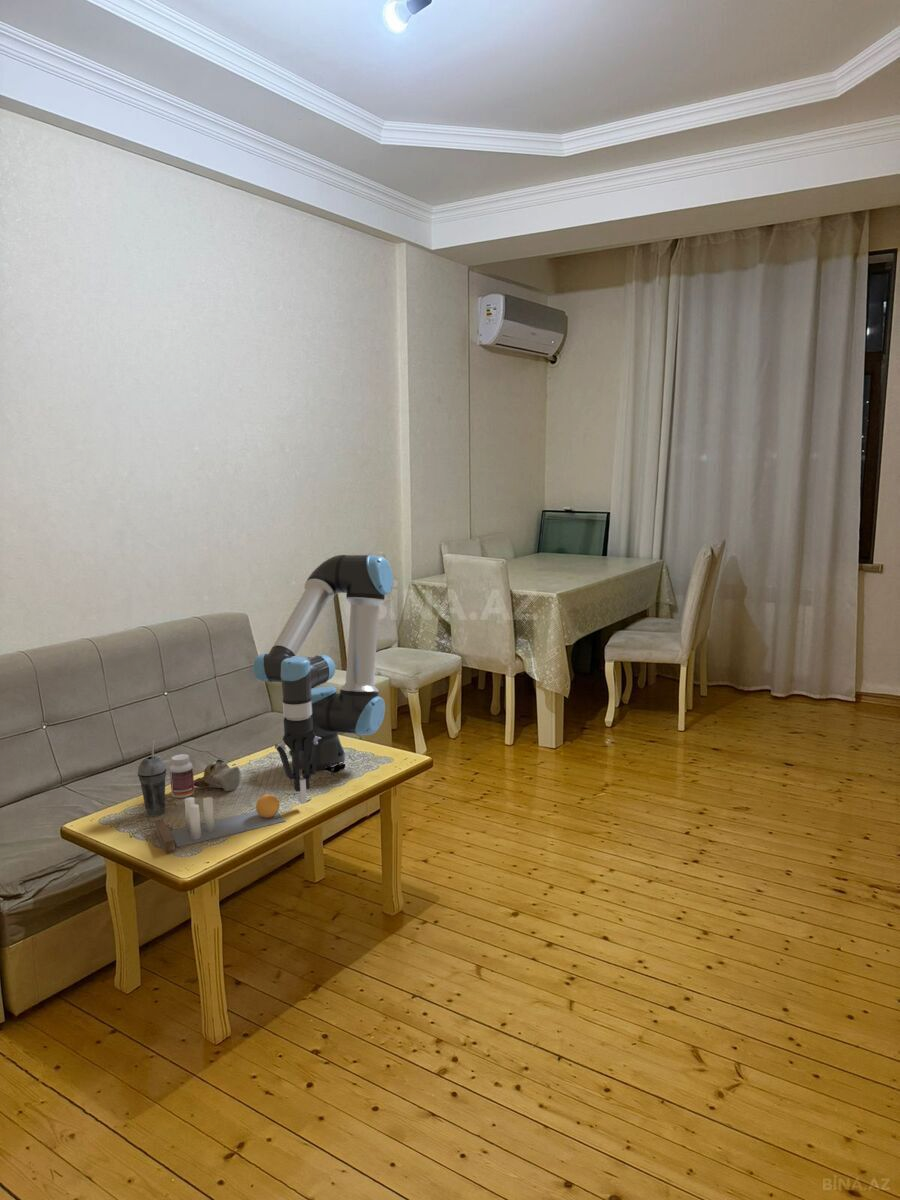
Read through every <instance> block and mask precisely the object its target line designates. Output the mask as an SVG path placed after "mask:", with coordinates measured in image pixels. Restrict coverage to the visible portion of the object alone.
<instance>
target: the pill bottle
mask: <svg viewBox="0 0 900 1200" xmlns="http://www.w3.org/2000/svg"><path fill="white" fill-rule="evenodd" d="M169 778H170V788H171V796H172V797H173V798H175V799H186V798H188V797H192V795H194V793H195V786H194V780H195V779H194V778H195V777H194V768H193V763H192V762H190V755H188V754H187V753H185V754H182V753H180V754H175V755H174V756H172V757H171V765H170V766H169Z"/></svg>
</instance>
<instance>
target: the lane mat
mask: <svg viewBox="0 0 900 1200" xmlns="http://www.w3.org/2000/svg"><path fill="white" fill-rule="evenodd" d="M214 820H215V819H214ZM285 822H286V820H285V818H284V817H283V816H282V815H281V814H280V813H279V811H278V812H277V814H276V815H275V816H273V817H271V818H263V817H261V816H260V815H259V814H258V813H257V811H256V810H255V811H251V812H246V813H243V814H238V815H234V816H233V815H232V816H229V817H225V818H220V819H217V820H215V831H213V832H206V831H205V822H203V823H200V826H201V838H200V839H198V840H192V839H191V832H187V826H185V827H182V828H177V829H172V830H169V831H170V833H171V835H172V837H173V839H174V844H175V845H176V847H177V848H180V847H185V846H190V845H194V844H197V843H202V842H205V841H206V842H207V841H210V840H215V839H218V838H221V837H226V836H230V835H235V834H239V833H244V832H247V831H252V830H256V829H259V828H264V827H269V826H272V825H276V824H281V823H285Z"/></svg>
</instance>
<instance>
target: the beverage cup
mask: <svg viewBox="0 0 900 1200" xmlns="http://www.w3.org/2000/svg"><path fill="white" fill-rule="evenodd" d="M154 743H155V740H154V739H151V755H150V756H148V757H145V758H144V759H143V760H142V761H141V762H140V763H139V765H138V768H137V776H138V780H139V782H140V786H141V791H142V793H141V794H142V797H143V803H144V807H145V808H144V809H145V812H146V816H148V817H157V816H161V815H163V814H165V813H166V812H165V809H166V808H165V807H166V778H167V777H166V776H167V768H166V764H165V762H164V761H163V760H162V758H160V757H157V756H154V755H155V751H154V749H155V748H154V745H155V744H154Z"/></svg>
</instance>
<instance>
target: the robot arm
mask: <svg viewBox="0 0 900 1200" xmlns="http://www.w3.org/2000/svg"><path fill="white" fill-rule="evenodd" d="M393 586H394V575H393V570H392V566H391V565H390V563H389V561H388V560H387V559H386V558H385V557H383V556H379V555H371V554H370V555H369V554H368V555H367V554H365V555H364V554H362V555H361V554H359V555H358V554H357V555H356V554H354V555H353V554H351V555H349V554H348V555H346V554H338V555H334V556H331V557H330V558H328V559H326V560H324V561H323V562H321V563H320V564H319V565H318V566H317V567H316V568H315V569H314V570H313V571H312V572H311V574H310V575H309V576H308V577H307V580H306V581H305V583H304V592H303V593H302V594H301V597H300V598H299V600H298V602H297V604H296V606H295V607H294V609H293V611H292V612H291V614H290V616H289V618H288V620H287V621H286V623H285V624H284V626H283V628H282V630H281V631H280V633H279V634H278V637H277V639H276V640H275V642H274V644H273V645H272V648H271V649H270V650H269V652H268V653H260V654H259V655H256V657H255V658H254V660H253V664H252V671H253V674H254V677H255V678H256V679H257V680H259V681H263V682H269V683H281V693H282V713H283V717H284V718H283V730H284V735H283V737H282V741H280V742H279V744H275V745H274V748H275V750H276V752H278V754H279V756H280V760H281V764H282V767H283V770H284V772H285V776H286V777H287V778H288V779H289V780H293V790H294V791H295V792H296V793H297V800H298V802H299V803H300V804H301V805H302V804H307V802H308V800H307V797H308V796H307V791H308V790H309V789H310V779H311V776H312V775H313V776H315V775H316V772H317V771H322V770H326V769H325V768H326V767H327V766H328V765H330V764H332V763H335V762H343V763H344V762H345V761H346V756H345V755H346V754H345V750H344V747H343V746H342V745H343V744H342V742H341V740H340V738H339V733H341V734H342V733H344V734H352V735H357V736H371V735H374V734H375V733H377V731H378V730H379V728H380V727H381V726H382V723H383V721H384V717H385V713H386V704H385V700H384V698H382V697H381V696H379V694H380V693H379V692H380V691H379V689H378V688H377V686H376V684H375V677H376V676H375V674H376V661H377V659H376V658H377V644H378V629H379V628H378V627H379V614H380V613H379V612H380V611H379V610H380V605H382V604H383V603H385V599H386V598H385V595H386V596H387V595H389V594H390V593H391V591H392V588H393ZM340 593H342V594H343V593H344V594H346V595H345V597H346V600H347V601H348V602H349V604H350V611H349V612H350V613H349V624H348V625H349V628H348V643H347V658H346V670H345V671H346V673H345V683H344V684H343V685H342V686H341V687H340V689H339V693H337V691H338V690H337V688H336V687H335V686H332V685H331V686H330V685H327V686H320V685H323V684H326V683H327V682H328V681H329V680H331V679H332V678H333V677H334V675H335V673H336V664H335V662H334V660H333V659H332V658H331V657H330V656H328V655H326V654H319V655H315V656H310V657H309V656H299V655H300V653H301V651H302V649H303V647H304V646H305V644H306V642H307V640H308V638H309V637H310V635H311V633H312V632H313V630H314V627H315V626H316V624H317V622H318V621H319V618H320V616H321V614H322V613H323V611H324V609H325V608H326V606H327V603H329V602H331V601H332V600H333V599H334V597H335V596H336V595H338V594H340ZM286 747H288V749H290V752H291V753H290V754H291V765H290V762H289V759H288V755H287V753H286ZM301 774H302V775H301Z"/></svg>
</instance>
